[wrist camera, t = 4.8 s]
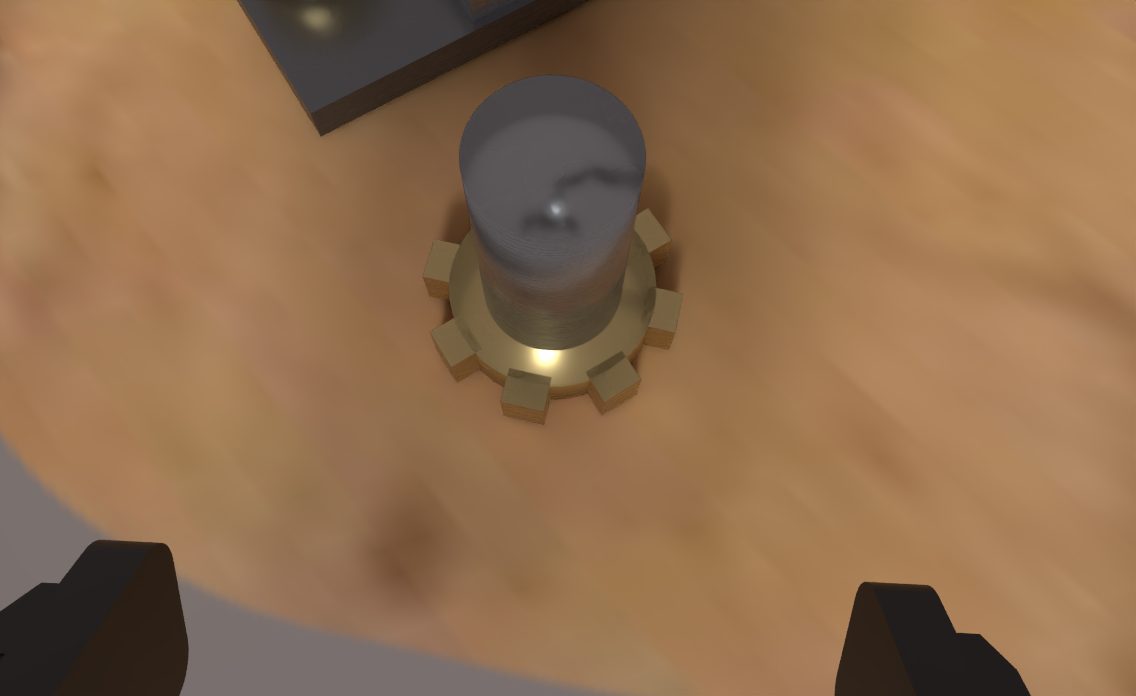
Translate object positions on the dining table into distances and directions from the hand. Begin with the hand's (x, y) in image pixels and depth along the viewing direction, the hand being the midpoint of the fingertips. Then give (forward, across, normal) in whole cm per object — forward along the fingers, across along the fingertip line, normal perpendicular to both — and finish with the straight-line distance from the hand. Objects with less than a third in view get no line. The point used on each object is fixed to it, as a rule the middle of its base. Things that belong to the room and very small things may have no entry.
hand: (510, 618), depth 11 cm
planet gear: (+15, 0, +3) cm, 15 cm away
